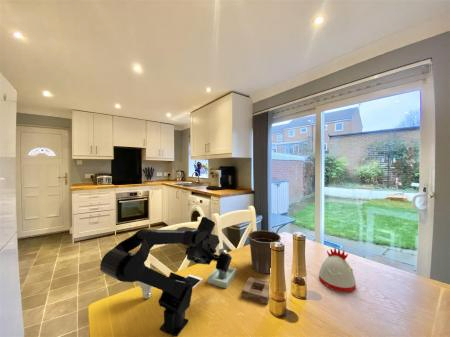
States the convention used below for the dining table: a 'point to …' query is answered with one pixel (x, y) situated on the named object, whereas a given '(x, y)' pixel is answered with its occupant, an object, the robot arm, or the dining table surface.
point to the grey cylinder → (221, 274)
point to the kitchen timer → (337, 272)
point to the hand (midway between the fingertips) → (216, 266)
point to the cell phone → (194, 280)
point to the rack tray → (223, 283)
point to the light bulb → (145, 289)
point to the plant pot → (262, 249)
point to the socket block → (256, 294)
